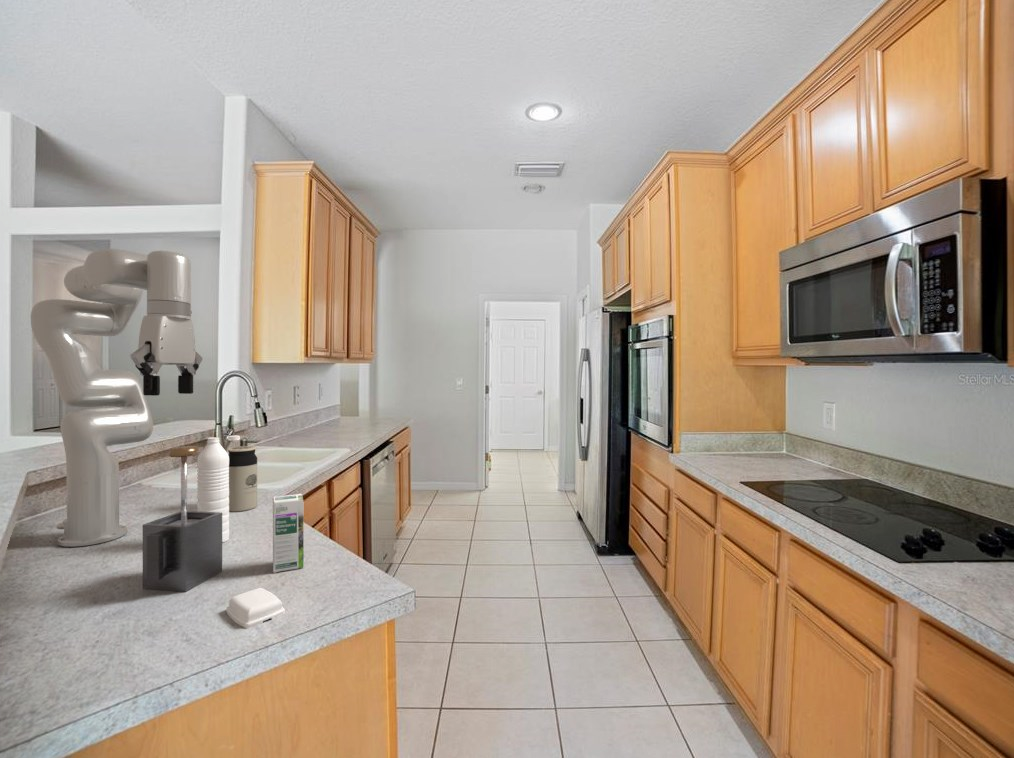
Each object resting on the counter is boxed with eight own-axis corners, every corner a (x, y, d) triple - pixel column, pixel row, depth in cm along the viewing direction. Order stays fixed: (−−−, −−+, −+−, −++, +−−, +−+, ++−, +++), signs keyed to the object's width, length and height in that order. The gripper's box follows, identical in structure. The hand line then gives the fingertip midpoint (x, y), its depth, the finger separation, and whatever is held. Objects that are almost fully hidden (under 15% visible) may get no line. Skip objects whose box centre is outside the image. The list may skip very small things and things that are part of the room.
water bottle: (197, 548, 106) (197, 439, 106) (197, 539, 112) (197, 436, 111) (240, 541, 111) (240, 437, 111) (238, 533, 116) (238, 434, 116)
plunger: (154, 532, 87) (154, 450, 87) (182, 521, 94) (182, 444, 94) (185, 534, 87) (185, 451, 86) (211, 523, 93) (211, 445, 93)
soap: (288, 615, 78) (288, 598, 78) (245, 632, 73) (245, 614, 73) (264, 598, 84) (264, 582, 84) (223, 613, 78) (223, 596, 78)
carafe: (130, 594, 84) (130, 528, 84) (182, 568, 95) (182, 510, 95) (175, 598, 83) (174, 531, 83) (222, 571, 94) (222, 512, 94)
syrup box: (272, 573, 93) (272, 502, 93) (272, 563, 98) (272, 495, 98) (303, 568, 96) (303, 498, 96) (301, 558, 101) (301, 492, 101)
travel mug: (221, 509, 136) (221, 448, 136) (248, 503, 143) (248, 445, 143) (235, 513, 132) (235, 451, 132) (262, 507, 139) (262, 447, 139)
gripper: (186, 316, 107) (186, 392, 107) (113, 305, 90) (113, 396, 90) (216, 316, 106) (216, 393, 106) (148, 305, 89) (148, 396, 89)
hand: (169, 393), depth 98 cm, fingers open, 7 cm apart
